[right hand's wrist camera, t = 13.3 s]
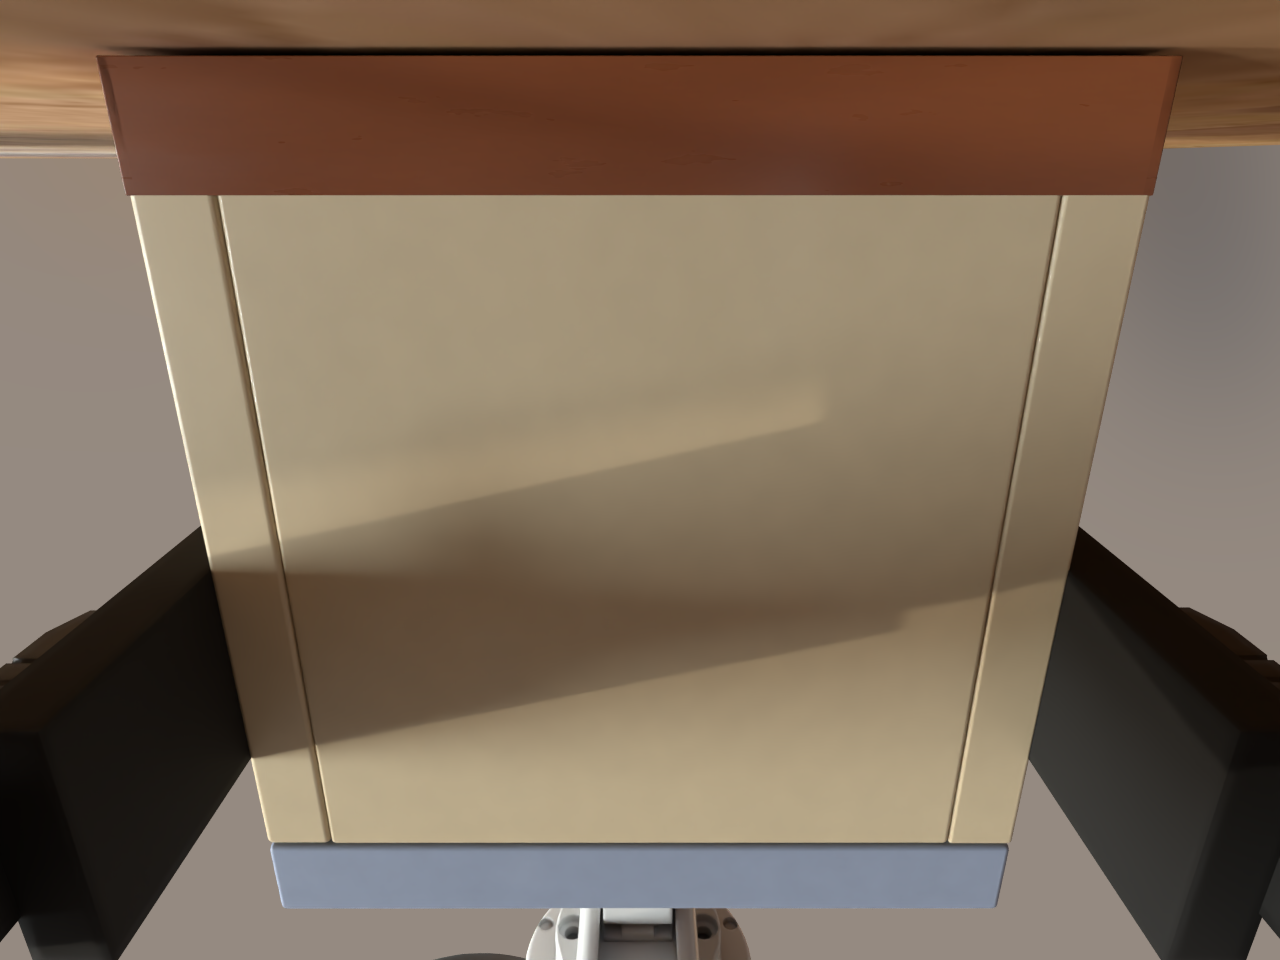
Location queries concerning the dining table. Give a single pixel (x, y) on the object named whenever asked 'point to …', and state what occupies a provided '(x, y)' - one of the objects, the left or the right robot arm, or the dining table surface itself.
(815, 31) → the dining table surface
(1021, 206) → the chest
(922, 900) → the lid
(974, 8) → the dining table surface
